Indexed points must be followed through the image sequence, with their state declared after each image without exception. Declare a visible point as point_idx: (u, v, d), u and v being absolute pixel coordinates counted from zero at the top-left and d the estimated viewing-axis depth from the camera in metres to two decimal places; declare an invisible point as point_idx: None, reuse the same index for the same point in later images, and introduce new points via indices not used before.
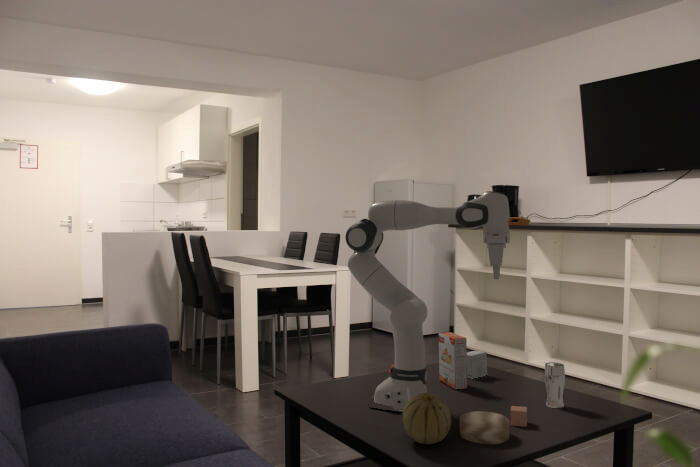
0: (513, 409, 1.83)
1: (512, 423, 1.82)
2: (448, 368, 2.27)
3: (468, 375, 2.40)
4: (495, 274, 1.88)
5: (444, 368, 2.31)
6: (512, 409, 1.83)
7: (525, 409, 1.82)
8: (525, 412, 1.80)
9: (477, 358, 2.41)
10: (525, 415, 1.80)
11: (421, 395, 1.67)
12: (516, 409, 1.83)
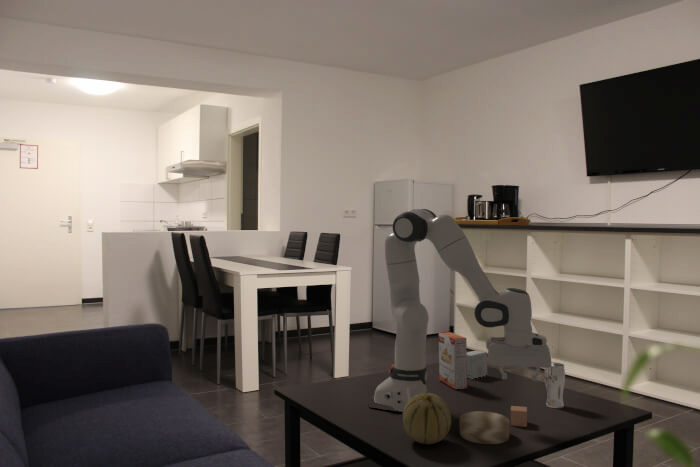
0: (513, 409, 1.83)
1: (512, 423, 1.82)
2: (448, 368, 2.27)
3: (468, 375, 2.40)
4: (537, 375, 1.81)
5: (444, 368, 2.31)
6: (512, 409, 1.83)
7: (525, 409, 1.82)
8: (525, 412, 1.80)
9: (477, 358, 2.41)
10: (525, 415, 1.80)
11: (421, 395, 1.67)
12: (516, 409, 1.83)
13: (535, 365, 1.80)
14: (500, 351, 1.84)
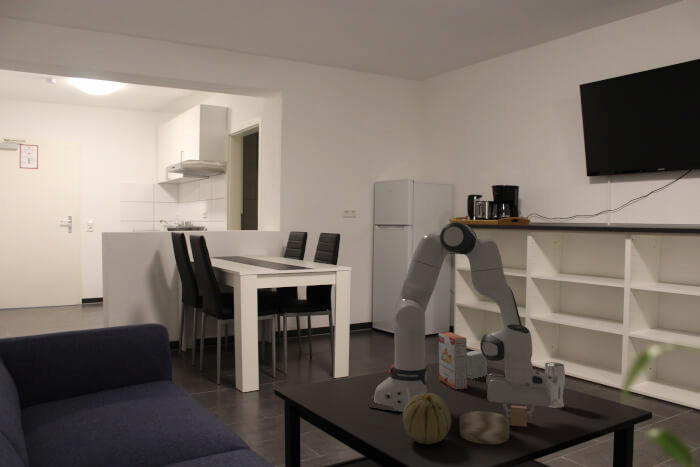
0: (513, 409, 1.83)
1: (512, 423, 1.82)
2: (448, 368, 2.27)
3: (468, 375, 2.40)
4: None
5: (444, 368, 2.31)
6: (512, 409, 1.83)
7: (525, 409, 1.82)
8: (525, 412, 1.80)
9: (477, 358, 2.41)
10: (525, 415, 1.80)
11: (421, 395, 1.67)
12: (516, 409, 1.83)
13: (535, 403, 1.80)
14: (500, 388, 1.84)
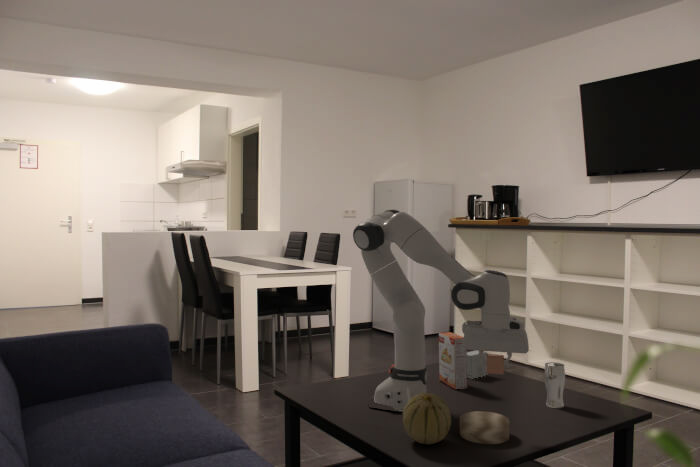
0: (489, 356, 1.76)
1: (488, 371, 1.75)
2: (448, 368, 2.27)
3: (468, 375, 2.40)
4: None
5: (444, 368, 2.31)
6: (488, 356, 1.76)
7: (502, 356, 1.76)
8: (502, 359, 1.74)
9: (477, 358, 2.41)
10: (502, 362, 1.74)
11: (421, 395, 1.67)
12: (493, 356, 1.76)
13: (512, 350, 1.73)
14: (476, 335, 1.77)
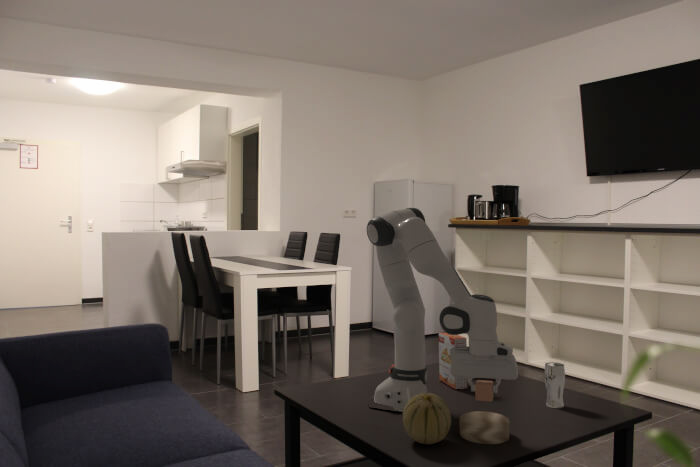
0: (478, 383, 1.72)
1: (477, 398, 1.71)
2: (448, 368, 2.27)
3: None
4: (497, 387, 1.71)
5: (444, 368, 2.31)
6: (477, 383, 1.72)
7: (490, 383, 1.72)
8: (490, 386, 1.70)
9: None
10: (490, 389, 1.70)
11: (421, 395, 1.67)
12: (481, 383, 1.72)
13: (500, 377, 1.70)
14: (464, 361, 1.73)
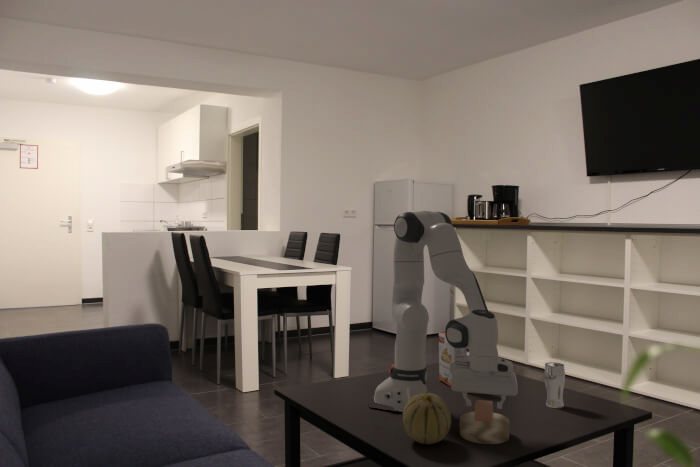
0: (478, 403, 1.72)
1: (476, 418, 1.72)
2: (448, 368, 2.27)
3: None
4: (502, 403, 1.71)
5: (444, 368, 2.31)
6: (477, 403, 1.72)
7: (490, 403, 1.72)
8: (490, 406, 1.70)
9: None
10: (490, 410, 1.70)
11: (421, 395, 1.67)
12: (481, 403, 1.72)
13: (500, 393, 1.70)
14: (464, 377, 1.74)
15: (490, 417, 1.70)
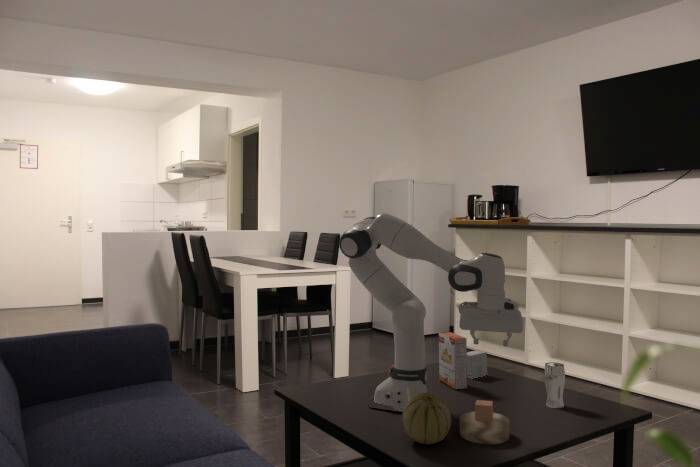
0: (478, 403, 1.72)
1: (476, 418, 1.72)
2: (448, 368, 2.27)
3: (468, 375, 2.40)
4: None
5: (444, 368, 2.31)
6: (477, 403, 1.72)
7: (490, 403, 1.72)
8: (490, 406, 1.70)
9: (477, 358, 2.41)
10: (490, 410, 1.70)
11: (421, 395, 1.67)
12: (481, 403, 1.72)
13: (506, 330, 1.79)
14: (472, 315, 1.83)
15: (490, 417, 1.70)
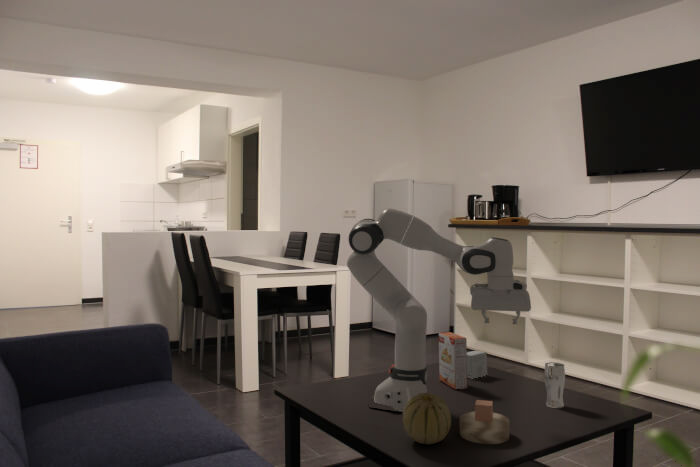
0: (478, 403, 1.72)
1: (476, 418, 1.72)
2: (448, 368, 2.27)
3: (468, 375, 2.40)
4: None
5: (444, 368, 2.31)
6: (477, 403, 1.72)
7: (490, 403, 1.72)
8: (490, 406, 1.70)
9: (477, 358, 2.41)
10: (490, 410, 1.70)
11: (421, 395, 1.67)
12: (481, 403, 1.72)
13: (515, 309, 1.91)
14: (483, 296, 1.95)
15: (490, 417, 1.70)
